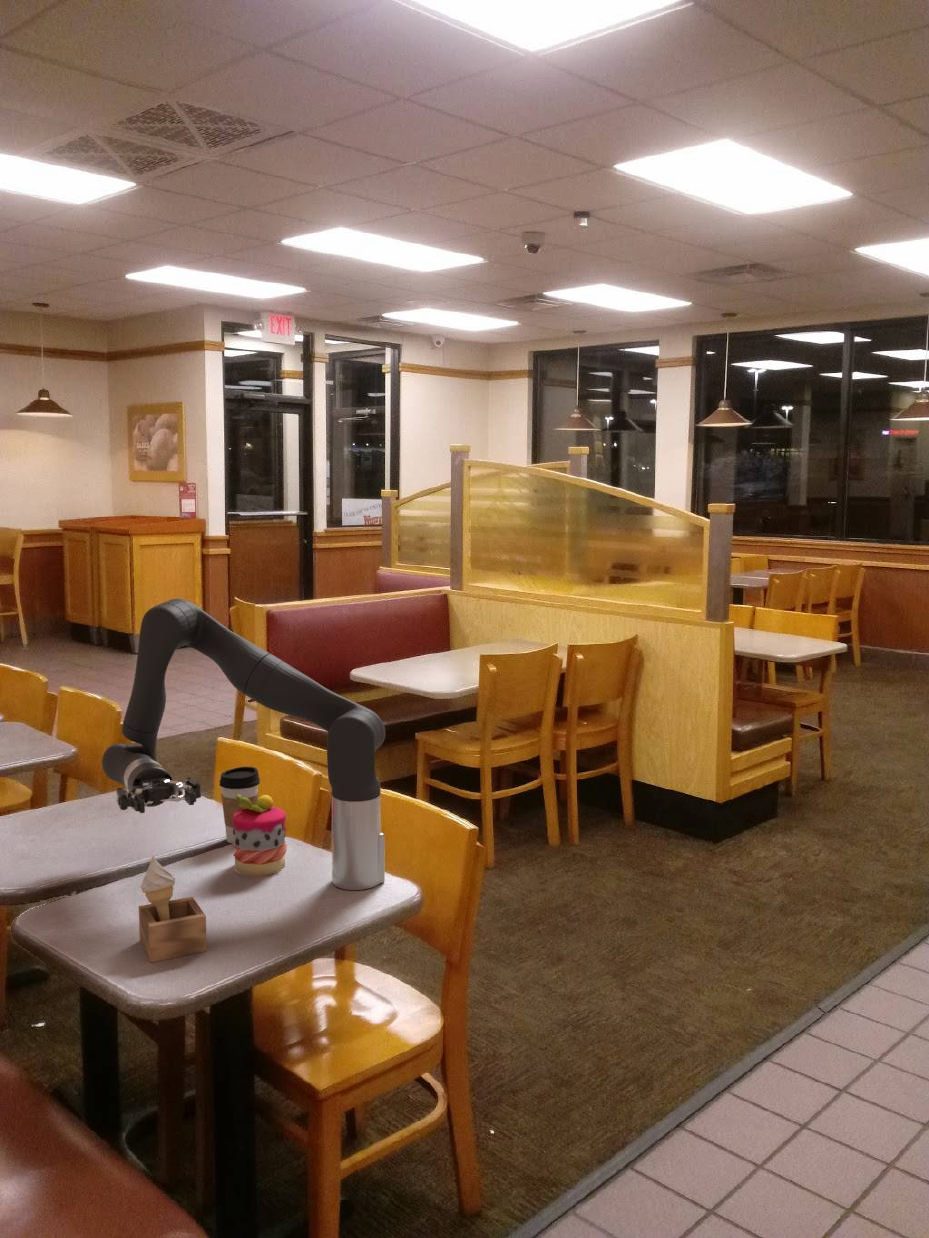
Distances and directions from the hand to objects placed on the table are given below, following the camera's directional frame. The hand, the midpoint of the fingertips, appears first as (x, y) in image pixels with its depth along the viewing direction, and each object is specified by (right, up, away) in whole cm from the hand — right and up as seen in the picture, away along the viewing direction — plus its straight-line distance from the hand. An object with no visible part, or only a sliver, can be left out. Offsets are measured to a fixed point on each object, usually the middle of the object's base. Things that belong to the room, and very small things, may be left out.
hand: (167, 803), depth 182 cm
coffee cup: (+4, -15, +40) cm, 43 cm away
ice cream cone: (+3, -22, -11) cm, 25 cm away
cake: (+11, -17, +25) cm, 32 cm away
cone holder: (+4, -22, -11) cm, 24 cm away
